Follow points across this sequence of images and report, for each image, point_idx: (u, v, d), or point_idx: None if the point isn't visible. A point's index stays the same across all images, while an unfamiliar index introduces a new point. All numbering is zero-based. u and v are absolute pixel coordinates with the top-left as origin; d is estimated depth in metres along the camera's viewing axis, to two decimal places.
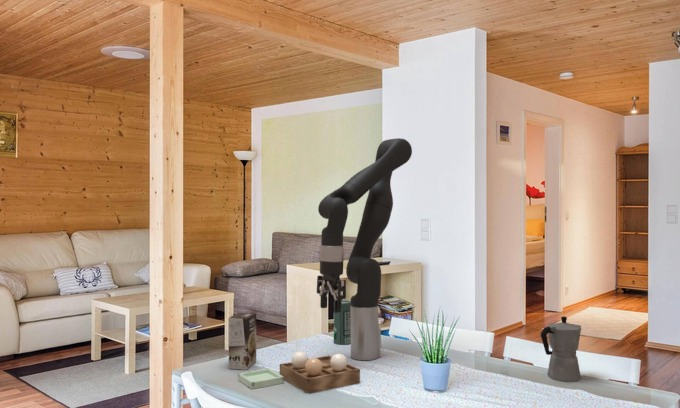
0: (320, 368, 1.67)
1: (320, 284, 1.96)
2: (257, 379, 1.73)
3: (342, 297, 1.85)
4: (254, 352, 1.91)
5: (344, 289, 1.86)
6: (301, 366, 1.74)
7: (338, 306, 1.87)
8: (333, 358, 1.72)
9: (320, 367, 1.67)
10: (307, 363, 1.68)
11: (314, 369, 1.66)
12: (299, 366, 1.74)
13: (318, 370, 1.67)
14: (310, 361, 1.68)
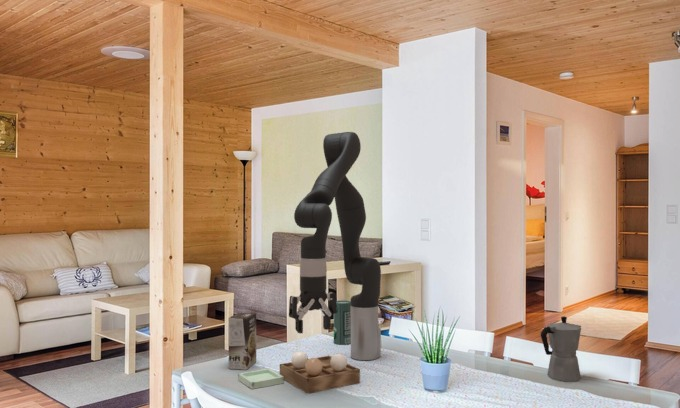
0: (320, 368, 1.67)
1: None
2: (257, 379, 1.73)
3: None
4: (254, 352, 1.91)
5: None
6: (301, 366, 1.74)
7: None
8: (333, 358, 1.72)
9: (320, 367, 1.67)
10: (307, 363, 1.68)
11: (314, 369, 1.66)
12: (299, 366, 1.74)
13: (318, 370, 1.67)
14: (310, 361, 1.68)
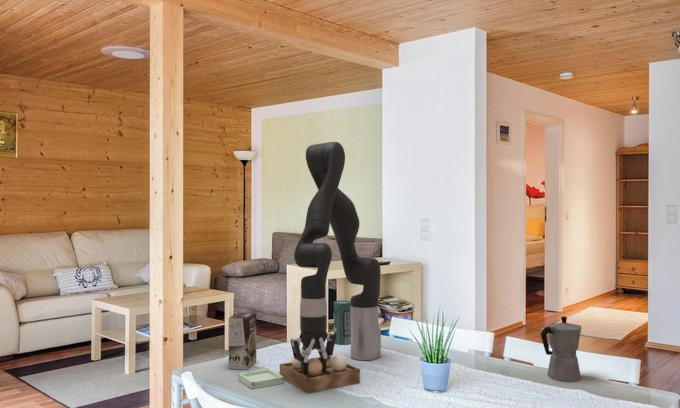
0: (320, 368, 1.67)
1: None
2: (257, 379, 1.73)
3: None
4: (254, 352, 1.91)
5: None
6: None
7: None
8: (333, 358, 1.72)
9: (320, 367, 1.67)
10: None
11: (314, 369, 1.66)
12: (299, 366, 1.74)
13: (318, 370, 1.67)
14: (310, 361, 1.68)
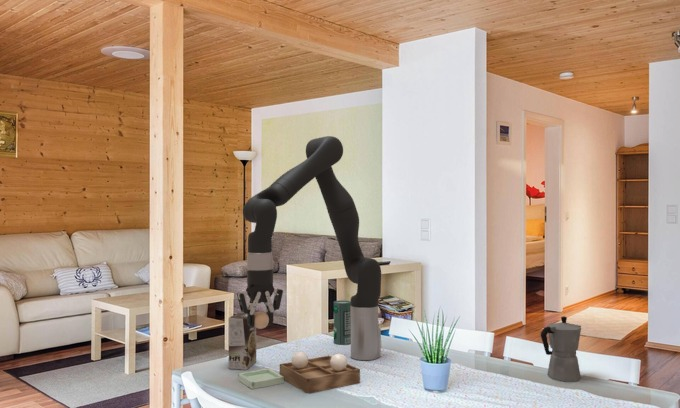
0: (266, 321, 1.72)
1: None
2: (257, 379, 1.73)
3: None
4: (254, 352, 1.91)
5: None
6: (301, 366, 1.74)
7: None
8: (333, 358, 1.72)
9: (266, 320, 1.72)
10: (254, 316, 1.72)
11: (260, 322, 1.71)
12: (299, 366, 1.74)
13: (264, 322, 1.71)
14: (256, 314, 1.72)
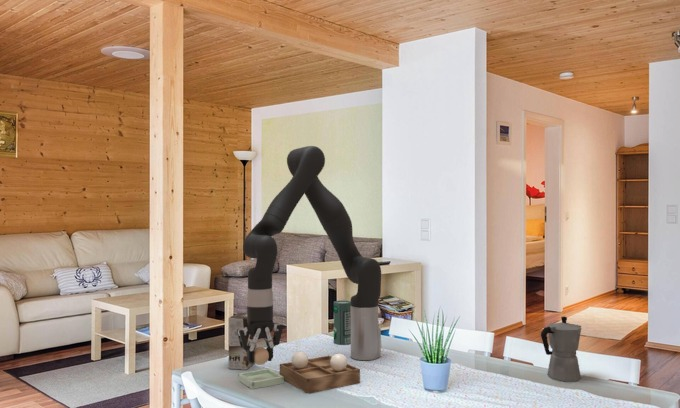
0: (266, 357, 1.72)
1: None
2: (257, 379, 1.73)
3: None
4: None
5: None
6: (301, 366, 1.74)
7: None
8: (333, 358, 1.72)
9: (266, 356, 1.72)
10: None
11: (260, 358, 1.71)
12: (299, 366, 1.74)
13: (264, 358, 1.71)
14: (256, 350, 1.72)
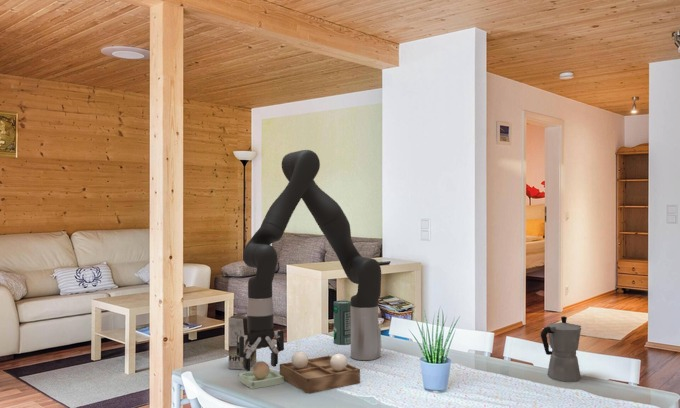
0: (267, 371, 1.72)
1: None
2: (257, 379, 1.73)
3: None
4: (254, 352, 1.91)
5: None
6: (301, 366, 1.74)
7: None
8: (333, 358, 1.72)
9: (267, 370, 1.72)
10: (254, 366, 1.72)
11: (260, 372, 1.71)
12: (299, 366, 1.74)
13: (264, 373, 1.71)
14: (257, 364, 1.72)
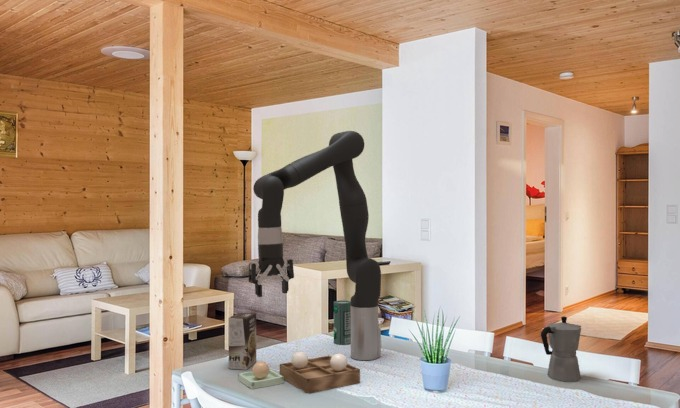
0: (266, 371, 1.72)
1: None
2: (257, 379, 1.73)
3: None
4: (254, 352, 1.91)
5: None
6: (301, 366, 1.74)
7: None
8: (333, 358, 1.72)
9: (266, 370, 1.72)
10: (254, 366, 1.72)
11: (260, 373, 1.71)
12: (299, 366, 1.74)
13: (264, 373, 1.71)
14: (257, 365, 1.72)
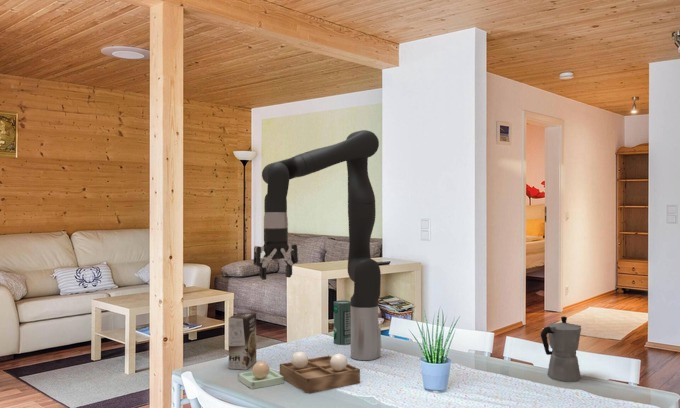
0: (266, 371, 1.72)
1: None
2: (257, 379, 1.73)
3: None
4: (254, 352, 1.91)
5: None
6: (301, 366, 1.74)
7: None
8: (333, 358, 1.72)
9: (266, 370, 1.72)
10: (254, 367, 1.72)
11: (260, 373, 1.71)
12: (299, 366, 1.74)
13: (264, 373, 1.71)
14: (257, 365, 1.72)
